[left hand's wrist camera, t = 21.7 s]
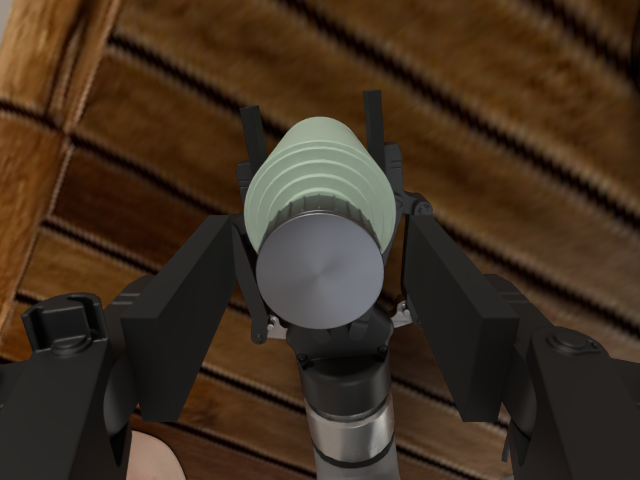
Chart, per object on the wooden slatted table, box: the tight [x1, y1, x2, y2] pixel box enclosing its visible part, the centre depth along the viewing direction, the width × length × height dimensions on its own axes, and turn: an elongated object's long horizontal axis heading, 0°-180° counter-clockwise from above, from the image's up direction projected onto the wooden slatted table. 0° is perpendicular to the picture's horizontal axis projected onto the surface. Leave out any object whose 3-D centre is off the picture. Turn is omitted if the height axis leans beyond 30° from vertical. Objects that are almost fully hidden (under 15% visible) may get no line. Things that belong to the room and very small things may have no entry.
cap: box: [255, 194, 385, 329], centre depth 13 cm, size 4×4×2 cm
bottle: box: [244, 117, 396, 254], centre depth 22 cm, size 7×7×20 cm
